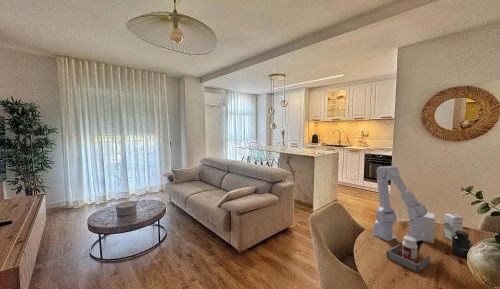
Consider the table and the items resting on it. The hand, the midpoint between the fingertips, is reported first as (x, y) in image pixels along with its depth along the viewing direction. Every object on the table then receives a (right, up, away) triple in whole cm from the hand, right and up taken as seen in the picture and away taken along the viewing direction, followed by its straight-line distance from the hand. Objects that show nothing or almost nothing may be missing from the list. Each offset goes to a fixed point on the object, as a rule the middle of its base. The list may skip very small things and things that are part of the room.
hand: (415, 252), depth 110 cm
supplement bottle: (+24, -1, 0) cm, 24 cm away
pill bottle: (-6, -2, -3) cm, 7 cm away
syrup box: (+34, 0, +15) cm, 38 cm away
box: (-7, -2, -4) cm, 8 cm away
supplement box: (+19, 0, +16) cm, 25 cm away
